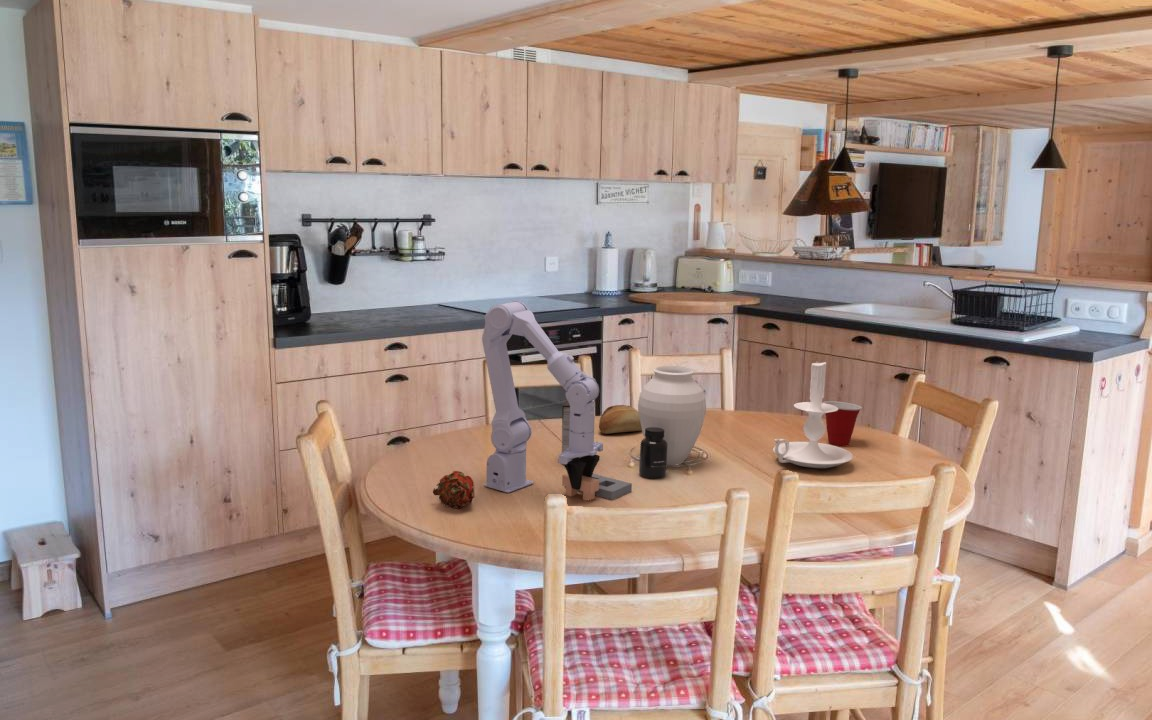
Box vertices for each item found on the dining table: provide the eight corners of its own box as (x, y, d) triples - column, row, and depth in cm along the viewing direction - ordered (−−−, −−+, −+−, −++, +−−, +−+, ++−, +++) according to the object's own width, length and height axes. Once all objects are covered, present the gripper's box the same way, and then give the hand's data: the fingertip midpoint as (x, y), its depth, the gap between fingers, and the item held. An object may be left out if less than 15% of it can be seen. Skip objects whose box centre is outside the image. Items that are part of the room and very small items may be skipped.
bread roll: (590, 431, 265) (591, 405, 263) (631, 425, 273) (631, 400, 271) (608, 439, 257) (609, 412, 255) (650, 432, 265) (651, 406, 263)
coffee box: (568, 455, 240) (569, 397, 237) (591, 456, 239) (592, 398, 236) (560, 464, 231) (561, 404, 228) (584, 466, 230) (586, 406, 227)
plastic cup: (866, 445, 256) (870, 405, 253) (842, 451, 250) (845, 409, 247) (836, 436, 264) (839, 397, 262) (812, 441, 258) (815, 401, 256)
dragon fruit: (461, 522, 194) (445, 512, 204) (489, 495, 196) (473, 487, 207) (437, 494, 191) (422, 485, 202) (466, 467, 194) (451, 460, 205)
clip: (590, 502, 203) (591, 482, 202) (562, 494, 208) (562, 475, 207) (598, 499, 206) (599, 479, 205) (569, 491, 211) (570, 472, 210)
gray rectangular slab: (612, 500, 205) (612, 491, 205) (564, 487, 213) (564, 479, 213) (631, 491, 211) (631, 483, 211) (584, 479, 220) (584, 471, 219)
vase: (622, 460, 236) (625, 368, 231) (663, 448, 248) (666, 360, 244) (676, 476, 224) (680, 379, 219) (716, 461, 237) (721, 370, 232)
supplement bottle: (658, 481, 219) (660, 434, 217) (634, 476, 223) (635, 430, 221) (670, 474, 225) (672, 428, 223) (646, 469, 229) (648, 424, 227)
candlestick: (744, 461, 238) (750, 358, 233) (809, 448, 251) (816, 351, 246) (802, 482, 221) (810, 372, 216) (868, 468, 234) (877, 364, 229)
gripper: (576, 439, 196) (575, 498, 198) (614, 427, 207) (612, 482, 210) (551, 434, 200) (550, 491, 203) (589, 422, 211) (588, 476, 214)
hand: (580, 486), depth 206 cm, fingers closed on clip, 3 cm apart
